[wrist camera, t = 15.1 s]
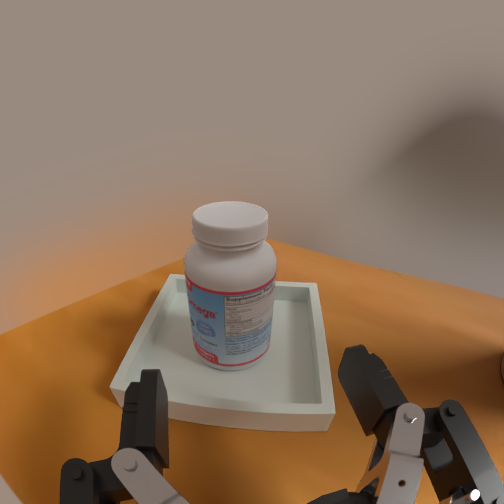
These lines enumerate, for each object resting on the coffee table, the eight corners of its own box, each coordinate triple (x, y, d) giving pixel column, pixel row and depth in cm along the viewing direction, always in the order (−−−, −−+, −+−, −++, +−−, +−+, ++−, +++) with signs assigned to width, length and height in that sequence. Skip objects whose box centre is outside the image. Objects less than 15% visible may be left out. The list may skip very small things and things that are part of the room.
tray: (313, 303, 29) (316, 283, 28) (327, 431, 16) (335, 413, 15) (173, 293, 30) (170, 273, 29) (120, 406, 17) (109, 387, 16)
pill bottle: (186, 331, 24) (171, 204, 19) (251, 315, 27) (254, 193, 21) (208, 383, 19) (192, 240, 14) (283, 359, 22) (299, 222, 16)
